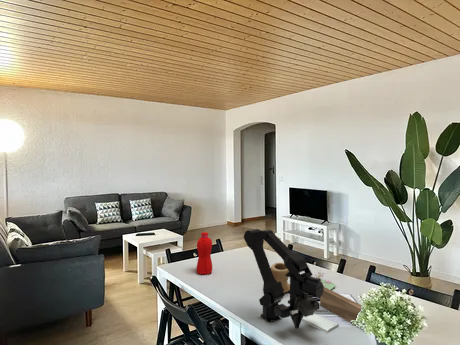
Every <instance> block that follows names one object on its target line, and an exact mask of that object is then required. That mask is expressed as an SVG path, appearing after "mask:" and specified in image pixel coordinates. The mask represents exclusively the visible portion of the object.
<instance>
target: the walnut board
mask: <svg viewBox="0 0 460 345" xmlns="http://www.w3.org/2000/svg"><path fill="white" fill-rule="evenodd" d="M319 306H321V307H322V306H323V308H324V309H326V310H328V311H329V310H330V311H329V312H332V313H333V314H334V315H336V316H338V317H340V318H341V319H344V320H345V321H347V322H348V323H350V321H351V320H356V318H357V315H358V313H359V312H360V311H361V306H363V305H362V304H360V303H358V302H355V301H354V300H351V299H350V298H348V297H345V296H344V295H341V294H339V293H337V292H335V291H333V289H331V290H330V289H328V288H325V287H324V291H323V294H322V296H321V297H320V298H319Z"/></svg>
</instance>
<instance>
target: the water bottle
mask: <svg viewBox="0 0 460 345" xmlns="http://www.w3.org/2000/svg"><path fill="white" fill-rule="evenodd" d="M212 248H213V240H212V238H210V237H209V232H201V233H200V237H199V238H198V240H197V242H196V249H197V253H198V256H197V257H198V259H197V264H196V273H197V274H198V275H202V276H203V275H206V276H208V275H210V274H211V273H212V272H213V262H212V257H211V253H212Z"/></svg>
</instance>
